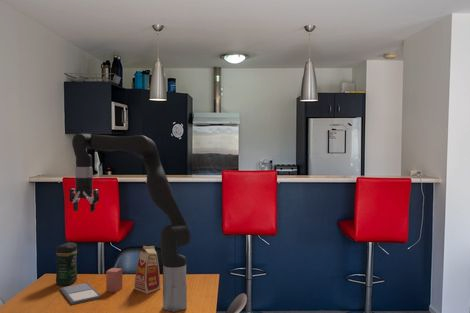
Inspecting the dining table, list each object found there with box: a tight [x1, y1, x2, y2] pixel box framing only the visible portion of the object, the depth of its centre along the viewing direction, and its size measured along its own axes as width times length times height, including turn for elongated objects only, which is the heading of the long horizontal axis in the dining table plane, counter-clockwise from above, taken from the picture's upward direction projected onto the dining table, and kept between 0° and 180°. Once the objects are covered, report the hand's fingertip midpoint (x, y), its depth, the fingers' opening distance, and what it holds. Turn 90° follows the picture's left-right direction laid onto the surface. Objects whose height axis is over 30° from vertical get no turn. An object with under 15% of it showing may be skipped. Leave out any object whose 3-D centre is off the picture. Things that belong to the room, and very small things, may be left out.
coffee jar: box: [55, 241, 78, 286], centre depth 189 cm, size 10×8×19 cm
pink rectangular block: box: [105, 267, 123, 293], centre depth 181 cm, size 5×5×9 cm
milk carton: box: [133, 245, 161, 295], centre depth 182 cm, size 9×9×20 cm
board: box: [59, 282, 102, 305], centre depth 175 cm, size 20×12×1 cm, turn 36°
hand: (84, 211), depth 187 cm, fingers open, 8 cm apart
